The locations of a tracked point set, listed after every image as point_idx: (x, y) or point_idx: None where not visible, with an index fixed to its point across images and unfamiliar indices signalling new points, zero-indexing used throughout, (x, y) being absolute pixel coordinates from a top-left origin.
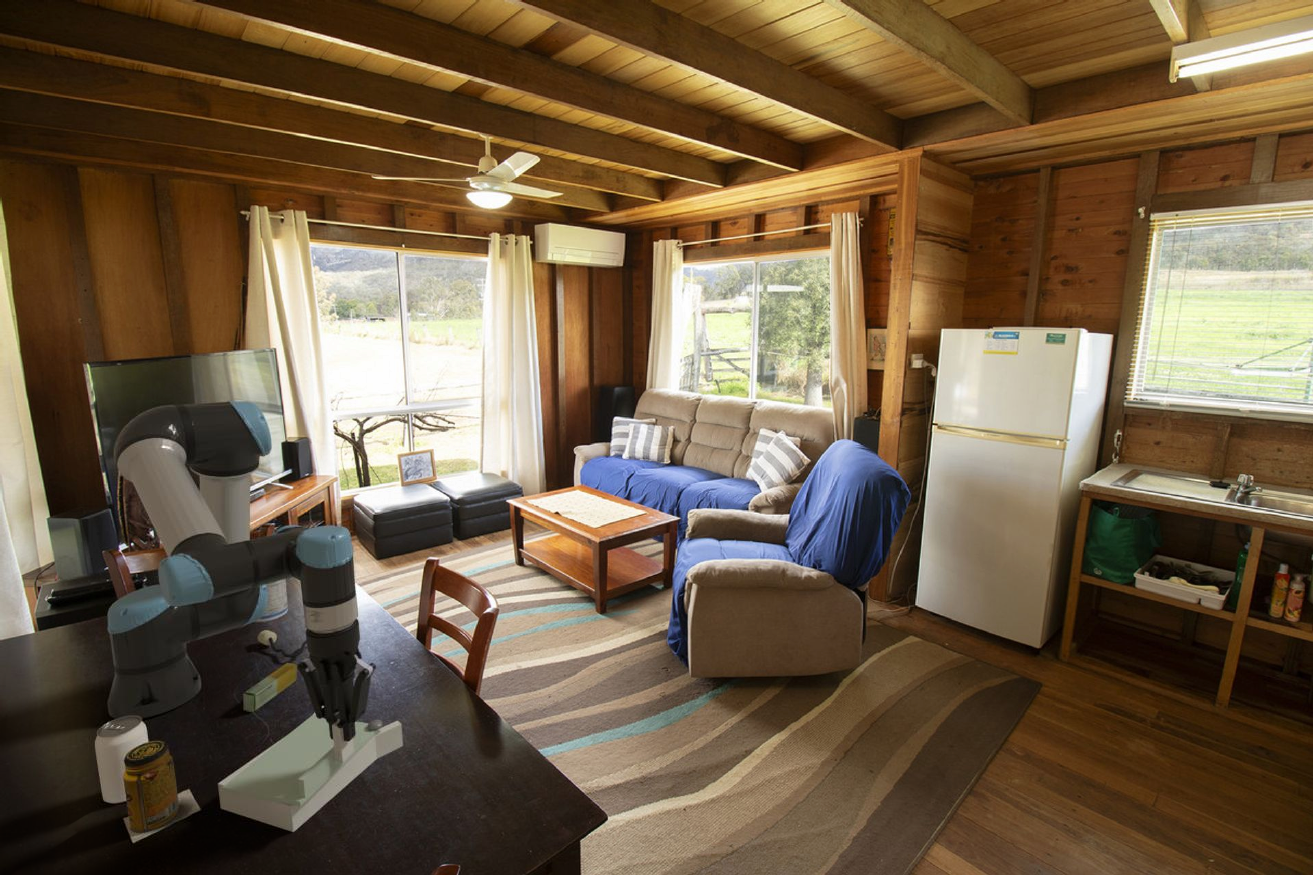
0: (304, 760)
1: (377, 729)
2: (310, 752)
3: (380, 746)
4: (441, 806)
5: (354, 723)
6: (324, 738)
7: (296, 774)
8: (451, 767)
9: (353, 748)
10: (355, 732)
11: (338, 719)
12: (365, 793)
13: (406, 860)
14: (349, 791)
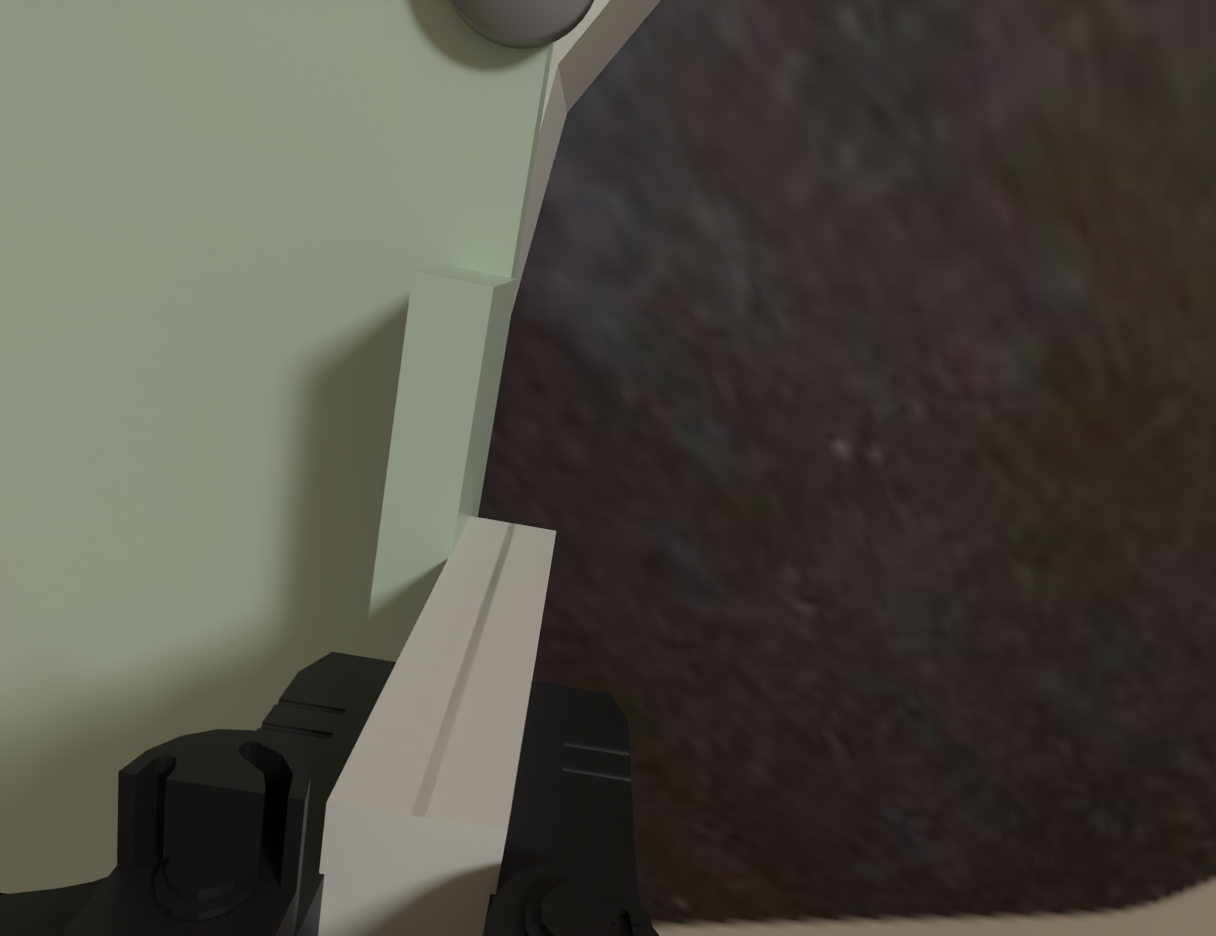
0: (101, 541)
1: (577, 21)
2: (74, 435)
3: (592, 61)
4: (1168, 573)
5: (631, 850)
6: (53, 201)
7: (166, 708)
8: (1185, 210)
9: (552, 545)
10: (627, 734)
11: (318, 934)
12: (651, 479)
13: (1051, 894)
14: (535, 463)
